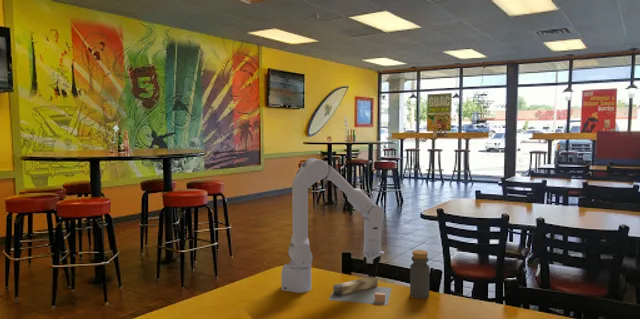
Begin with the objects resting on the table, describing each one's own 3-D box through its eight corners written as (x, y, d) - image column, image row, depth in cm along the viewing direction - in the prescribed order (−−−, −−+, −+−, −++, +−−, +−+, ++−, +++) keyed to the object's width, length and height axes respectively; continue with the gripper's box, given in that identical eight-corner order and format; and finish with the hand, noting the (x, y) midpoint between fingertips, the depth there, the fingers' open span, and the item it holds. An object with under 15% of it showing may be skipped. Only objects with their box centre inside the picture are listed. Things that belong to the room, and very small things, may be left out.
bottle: (429, 303, 133) (430, 255, 132) (410, 301, 134) (410, 254, 133) (428, 295, 139) (429, 249, 138) (410, 294, 140) (410, 248, 139)
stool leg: (336, 296, 136) (336, 288, 135) (331, 292, 138) (331, 285, 138) (377, 285, 144) (377, 278, 144) (371, 283, 146) (371, 276, 146)
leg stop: (374, 301, 131) (374, 294, 131) (375, 299, 133) (375, 292, 133) (384, 302, 131) (384, 295, 130) (385, 300, 132) (385, 293, 132)
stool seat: (328, 303, 133) (328, 299, 133) (337, 286, 147) (337, 283, 147) (387, 309, 129) (387, 305, 129) (391, 291, 143) (391, 287, 142)
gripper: (382, 245, 140) (381, 286, 141) (386, 234, 154) (385, 271, 155) (360, 243, 142) (360, 284, 143) (366, 233, 156) (366, 270, 157)
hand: (372, 277), depth 149 cm, fingers closed
